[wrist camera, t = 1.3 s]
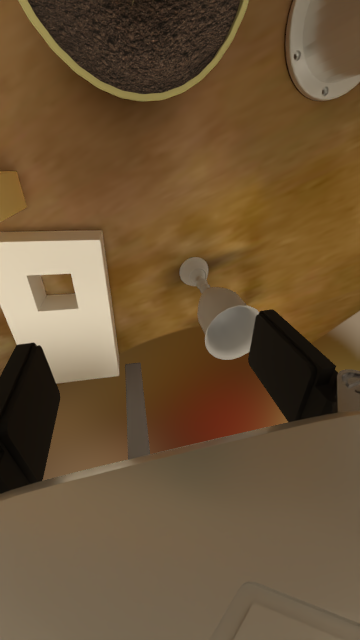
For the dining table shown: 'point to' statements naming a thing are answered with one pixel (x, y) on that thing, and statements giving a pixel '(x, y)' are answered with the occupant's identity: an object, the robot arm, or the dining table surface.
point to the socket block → (61, 301)
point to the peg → (10, 195)
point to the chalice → (220, 313)
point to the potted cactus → (138, 41)
